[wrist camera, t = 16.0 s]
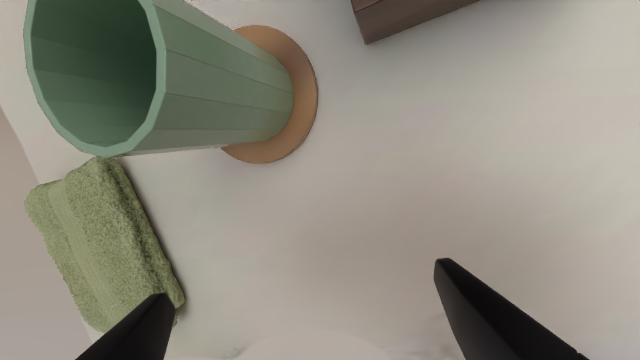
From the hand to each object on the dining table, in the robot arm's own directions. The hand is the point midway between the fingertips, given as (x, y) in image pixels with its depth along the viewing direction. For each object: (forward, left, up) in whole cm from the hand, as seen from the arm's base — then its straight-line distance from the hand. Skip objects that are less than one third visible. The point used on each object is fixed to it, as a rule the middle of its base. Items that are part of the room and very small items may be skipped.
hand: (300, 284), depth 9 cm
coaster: (+11, -1, -11) cm, 16 cm away
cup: (+11, -1, -11) cm, 15 cm away
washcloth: (+15, +21, -11) cm, 28 cm away
